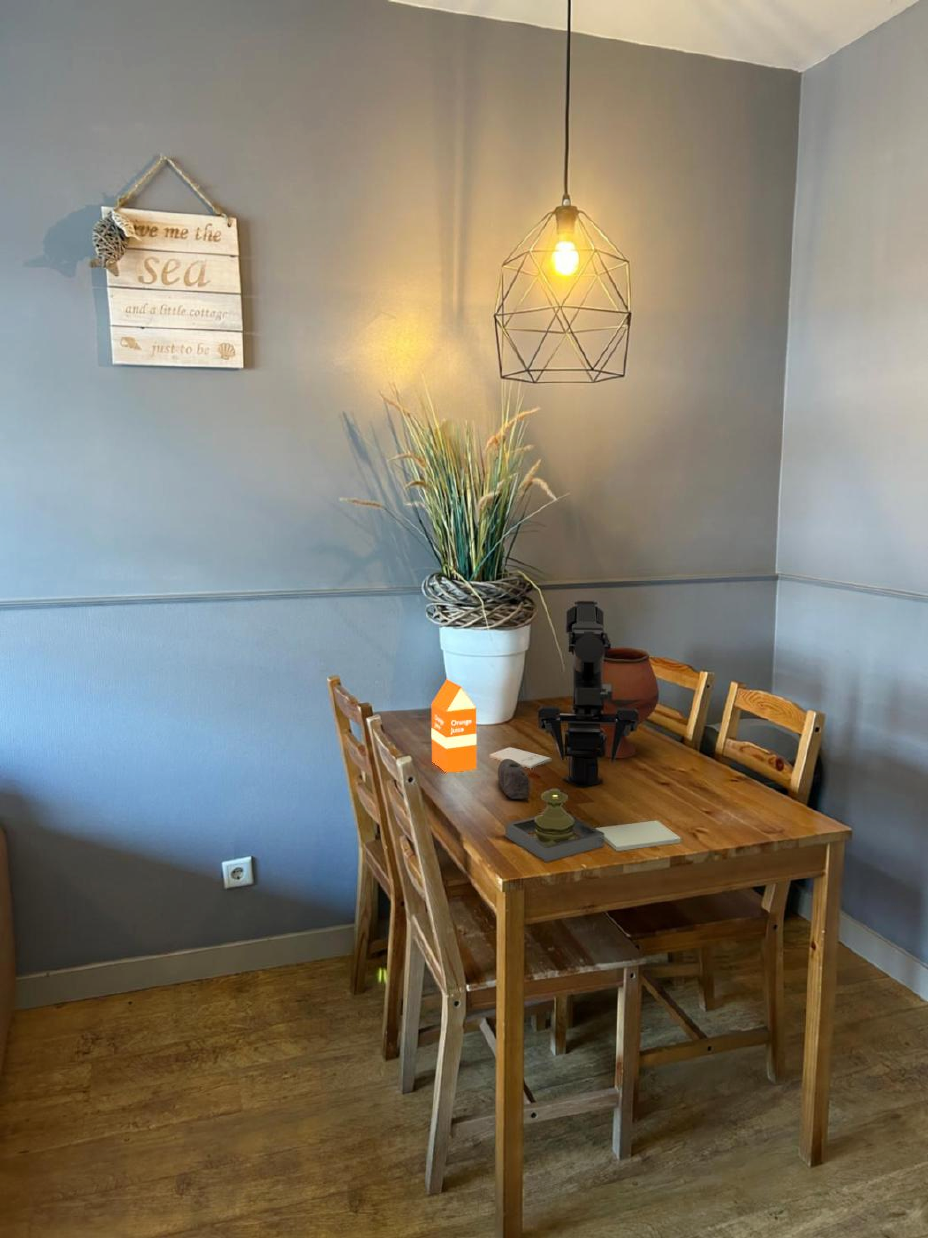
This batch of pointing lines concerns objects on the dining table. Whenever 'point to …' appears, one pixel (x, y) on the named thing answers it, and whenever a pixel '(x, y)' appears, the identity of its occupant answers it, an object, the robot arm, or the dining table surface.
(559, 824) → the brass rounded piece
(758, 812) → the dining table surface
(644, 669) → the goblet
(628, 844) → the tile
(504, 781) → the perforated stone tool
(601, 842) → the grey square frame
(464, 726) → the orange juice
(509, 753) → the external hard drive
